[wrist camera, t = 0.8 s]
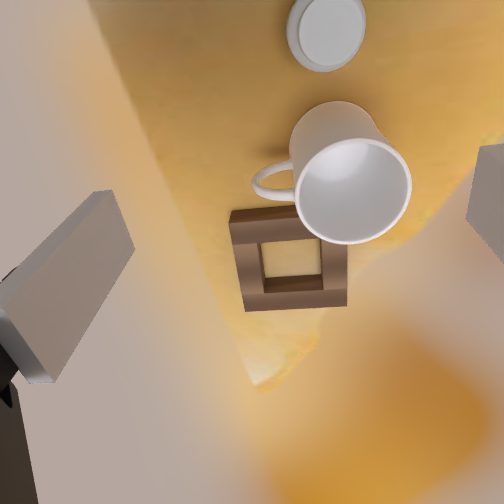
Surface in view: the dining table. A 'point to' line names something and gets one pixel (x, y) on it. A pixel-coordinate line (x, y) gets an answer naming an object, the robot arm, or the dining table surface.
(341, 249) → the holder
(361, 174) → the mug
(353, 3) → the supplement bottle
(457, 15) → the dining table surface
